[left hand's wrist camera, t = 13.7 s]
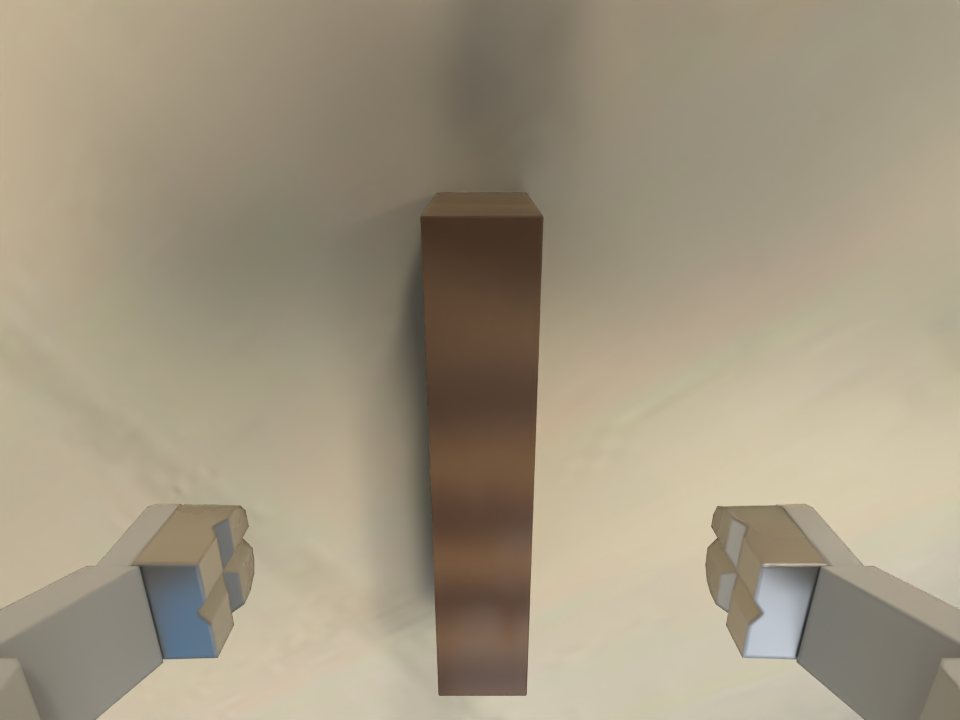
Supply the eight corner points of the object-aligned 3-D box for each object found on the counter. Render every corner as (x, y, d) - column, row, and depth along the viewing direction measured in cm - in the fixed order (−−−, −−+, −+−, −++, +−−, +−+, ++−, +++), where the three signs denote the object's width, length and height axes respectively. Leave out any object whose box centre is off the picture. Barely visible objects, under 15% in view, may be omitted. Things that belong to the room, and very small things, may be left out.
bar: (435, 192, 31) (420, 216, 23) (527, 192, 31) (543, 215, 23) (446, 583, 40) (438, 696, 32) (517, 583, 40) (526, 696, 32)
